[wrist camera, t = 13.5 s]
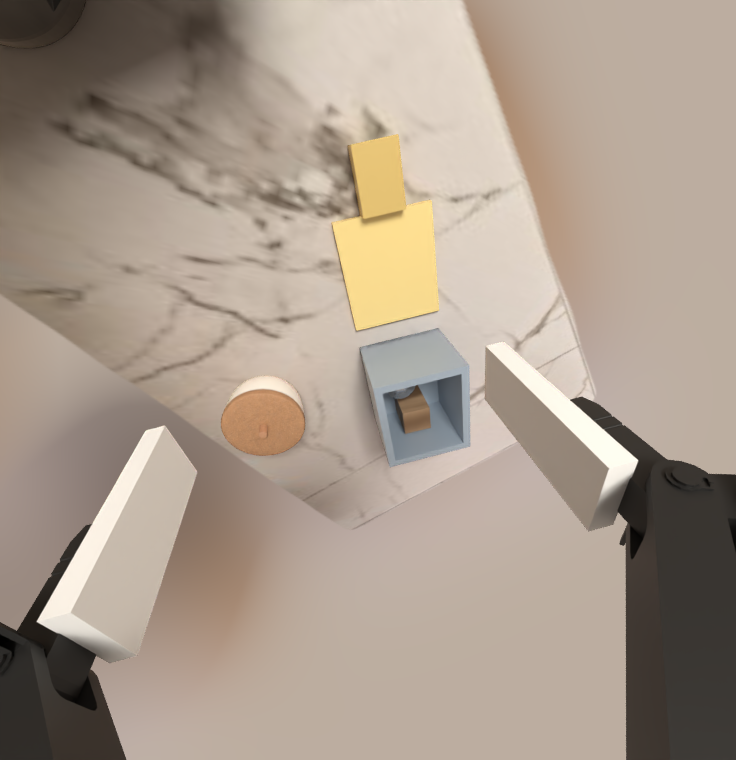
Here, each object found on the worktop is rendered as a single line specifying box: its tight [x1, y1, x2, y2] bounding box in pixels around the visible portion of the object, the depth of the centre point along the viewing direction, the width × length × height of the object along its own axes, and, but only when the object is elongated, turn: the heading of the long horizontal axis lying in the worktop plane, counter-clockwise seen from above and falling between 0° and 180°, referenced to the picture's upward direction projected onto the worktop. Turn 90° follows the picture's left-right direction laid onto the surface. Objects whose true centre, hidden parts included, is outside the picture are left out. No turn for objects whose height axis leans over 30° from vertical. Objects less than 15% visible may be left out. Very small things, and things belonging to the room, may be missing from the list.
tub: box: [360, 328, 470, 467], centre depth 49 cm, size 14×12×11 cm
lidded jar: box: [221, 375, 305, 456], centre depth 47 cm, size 11×11×9 cm
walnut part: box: [394, 385, 431, 434], centre depth 53 cm, size 4×4×6 cm
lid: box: [332, 134, 439, 331], centre depth 41 cm, size 21×12×2 cm, turn 11°
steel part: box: [388, 386, 415, 399], centre depth 49 cm, size 4×4×6 cm
